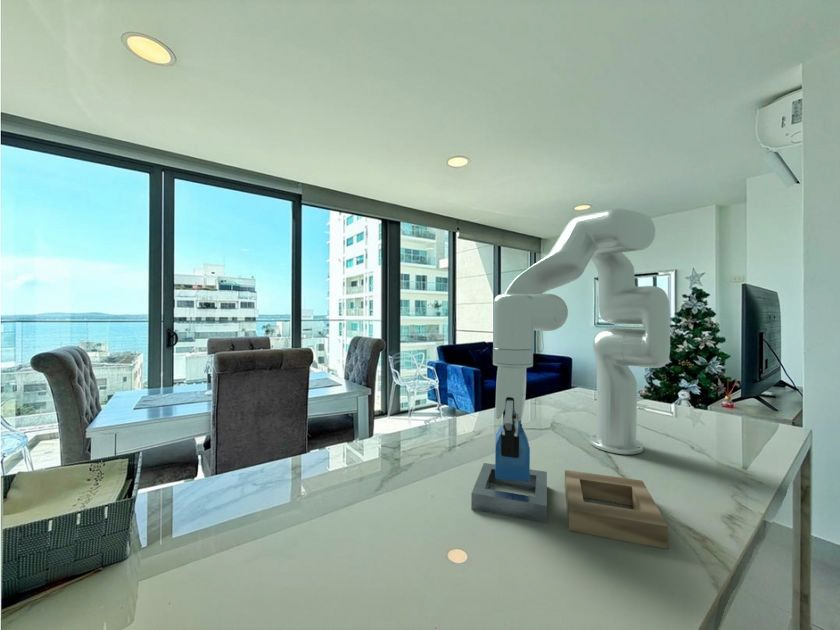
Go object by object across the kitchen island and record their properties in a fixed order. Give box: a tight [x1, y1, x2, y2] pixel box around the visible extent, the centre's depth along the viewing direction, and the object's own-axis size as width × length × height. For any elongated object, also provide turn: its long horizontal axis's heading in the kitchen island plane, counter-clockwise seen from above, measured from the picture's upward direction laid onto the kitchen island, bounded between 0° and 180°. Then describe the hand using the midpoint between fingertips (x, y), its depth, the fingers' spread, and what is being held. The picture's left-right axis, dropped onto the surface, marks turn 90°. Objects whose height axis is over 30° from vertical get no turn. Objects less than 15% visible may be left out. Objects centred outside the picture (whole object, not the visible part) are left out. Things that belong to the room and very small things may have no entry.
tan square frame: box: [564, 469, 669, 550], centre depth 66 cm, size 16×14×4 cm
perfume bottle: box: [494, 416, 531, 482], centre depth 72 cm, size 6×6×12 cm
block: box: [470, 462, 548, 524], centre depth 72 cm, size 14×13×3 cm
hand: (511, 448), depth 72 cm, fingers closed on perfume bottle, 6 cm apart
